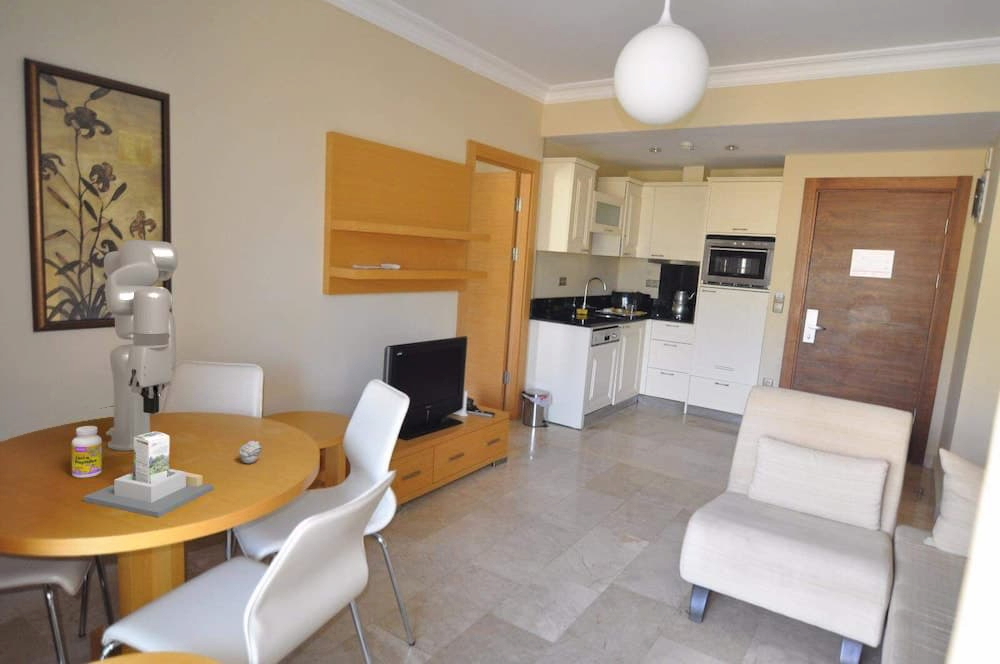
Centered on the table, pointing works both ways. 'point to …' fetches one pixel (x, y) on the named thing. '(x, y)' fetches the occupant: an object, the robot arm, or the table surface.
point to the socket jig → (151, 493)
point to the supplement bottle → (86, 452)
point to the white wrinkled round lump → (250, 452)
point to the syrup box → (151, 457)
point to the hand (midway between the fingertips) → (151, 412)
